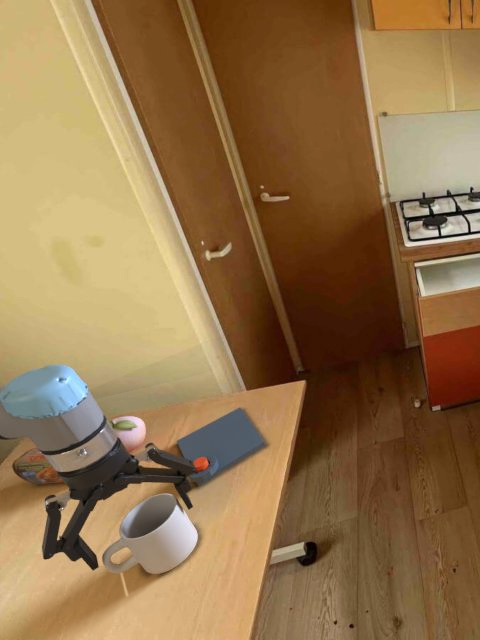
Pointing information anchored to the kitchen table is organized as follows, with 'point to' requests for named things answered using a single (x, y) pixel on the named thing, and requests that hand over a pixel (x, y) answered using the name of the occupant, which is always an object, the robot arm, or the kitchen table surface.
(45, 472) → the tin
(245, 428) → the scale
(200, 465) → the scale button
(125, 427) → the decorative fruit
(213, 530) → the kitchen table surface
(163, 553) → the mug
